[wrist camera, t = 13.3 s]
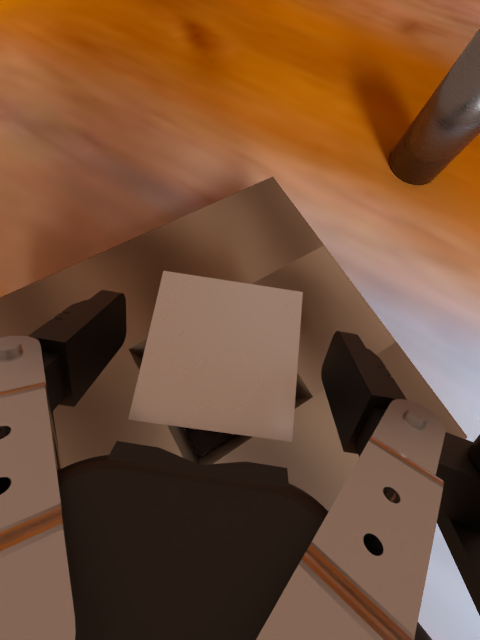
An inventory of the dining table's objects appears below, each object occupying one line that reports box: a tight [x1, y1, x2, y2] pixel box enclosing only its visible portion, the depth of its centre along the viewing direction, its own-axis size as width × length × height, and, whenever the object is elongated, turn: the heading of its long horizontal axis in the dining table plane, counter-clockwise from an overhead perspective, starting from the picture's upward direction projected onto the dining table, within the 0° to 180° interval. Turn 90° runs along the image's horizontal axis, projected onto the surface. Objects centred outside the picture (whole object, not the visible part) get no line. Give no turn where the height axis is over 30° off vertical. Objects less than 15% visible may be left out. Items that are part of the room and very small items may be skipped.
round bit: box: [389, 29, 480, 185], centre depth 19 cm, size 4×4×8 cm
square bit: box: [128, 271, 303, 442], centre depth 12 cm, size 4×4×10 cm
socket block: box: [0, 177, 467, 511], centre depth 15 cm, size 16×16×4 cm
